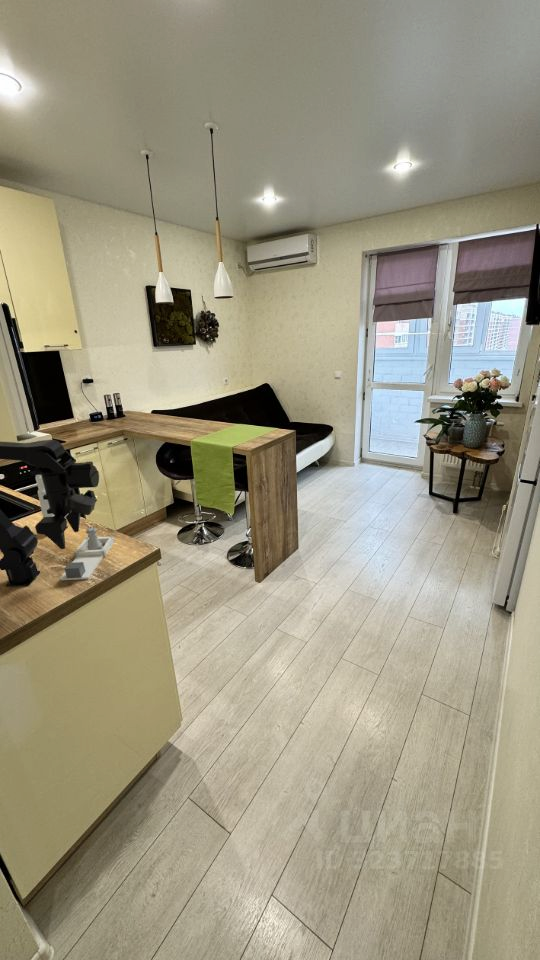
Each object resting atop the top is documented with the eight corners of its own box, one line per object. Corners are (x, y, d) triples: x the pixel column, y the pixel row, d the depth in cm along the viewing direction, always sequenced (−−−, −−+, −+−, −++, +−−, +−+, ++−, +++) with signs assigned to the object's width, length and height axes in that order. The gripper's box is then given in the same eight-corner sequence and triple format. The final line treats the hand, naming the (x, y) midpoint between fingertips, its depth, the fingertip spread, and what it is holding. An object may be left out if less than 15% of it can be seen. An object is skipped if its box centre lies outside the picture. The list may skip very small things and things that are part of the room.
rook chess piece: (85, 551, 121) (80, 529, 118) (96, 545, 125) (92, 523, 122) (94, 554, 119) (89, 532, 116) (106, 548, 123) (101, 526, 120)
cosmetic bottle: (44, 536, 131) (28, 478, 123) (45, 529, 136) (29, 472, 128) (63, 532, 134) (49, 474, 125) (63, 525, 139) (49, 469, 130)
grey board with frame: (58, 580, 107) (55, 569, 106) (87, 543, 126) (84, 533, 125) (90, 578, 107) (87, 567, 106) (114, 541, 126) (112, 531, 125)
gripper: (74, 501, 91) (87, 556, 97) (100, 474, 108) (110, 522, 114) (27, 504, 90) (42, 559, 96) (60, 476, 107) (72, 524, 113)
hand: (70, 539), depth 105 cm, fingers open, 9 cm apart
